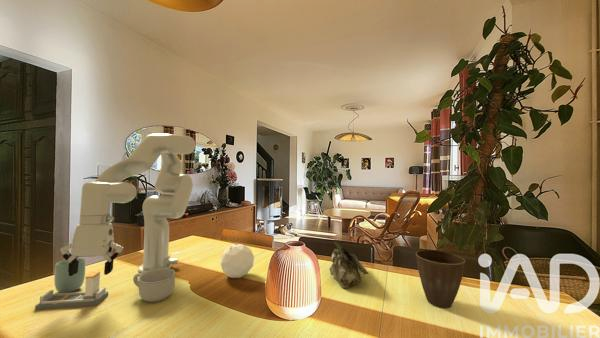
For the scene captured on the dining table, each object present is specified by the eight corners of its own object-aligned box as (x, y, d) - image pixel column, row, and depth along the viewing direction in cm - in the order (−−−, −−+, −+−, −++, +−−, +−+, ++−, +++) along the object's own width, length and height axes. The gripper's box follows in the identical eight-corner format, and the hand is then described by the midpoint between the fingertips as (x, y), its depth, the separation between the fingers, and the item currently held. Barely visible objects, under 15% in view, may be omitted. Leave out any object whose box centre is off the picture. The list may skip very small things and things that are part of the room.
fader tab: (100, 292, 84) (101, 271, 84) (93, 298, 80) (94, 276, 80) (90, 293, 83) (91, 271, 83) (82, 299, 79) (83, 276, 79)
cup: (65, 297, 83) (67, 266, 84) (47, 294, 85) (49, 264, 85) (89, 287, 91) (91, 259, 91) (72, 284, 92) (73, 257, 93)
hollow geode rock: (339, 274, 122) (318, 250, 123) (359, 256, 121) (338, 232, 123) (346, 302, 94) (319, 270, 95) (372, 279, 93) (344, 247, 95)
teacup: (181, 293, 88) (182, 270, 88) (154, 309, 78) (155, 283, 78) (151, 286, 93) (152, 264, 93) (122, 300, 82) (123, 275, 83)
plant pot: (446, 319, 77) (447, 266, 77) (405, 297, 90) (406, 252, 91) (474, 308, 84) (474, 260, 84) (432, 289, 97) (433, 248, 98)
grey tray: (108, 295, 86) (108, 285, 86) (96, 305, 79) (96, 295, 79) (52, 298, 82) (53, 288, 82) (34, 309, 75) (35, 299, 76)
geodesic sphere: (235, 274, 92) (249, 238, 100) (206, 267, 97) (221, 234, 105) (252, 285, 103) (263, 252, 111) (224, 279, 108) (237, 248, 116)
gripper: (129, 218, 87) (126, 268, 86) (71, 218, 84) (67, 270, 83) (119, 222, 80) (115, 277, 79) (54, 221, 76) (50, 279, 75)
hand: (90, 273), depth 81 cm, fingers open, 9 cm apart
